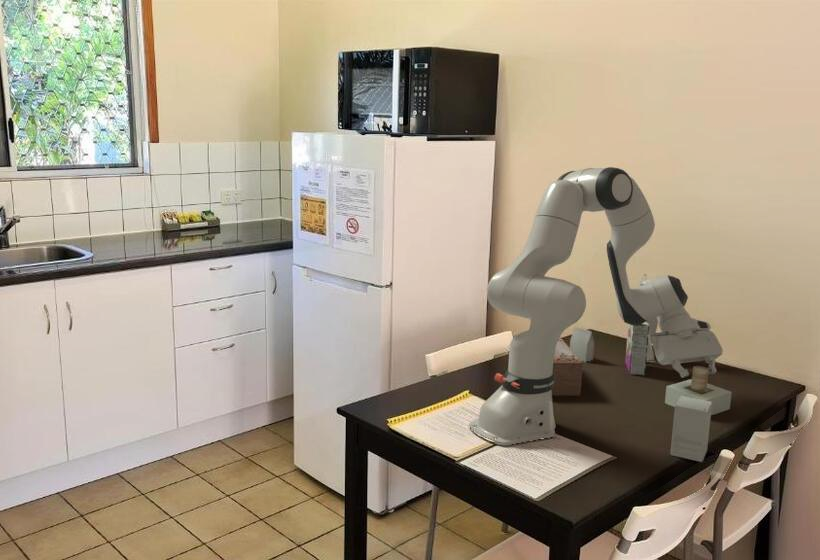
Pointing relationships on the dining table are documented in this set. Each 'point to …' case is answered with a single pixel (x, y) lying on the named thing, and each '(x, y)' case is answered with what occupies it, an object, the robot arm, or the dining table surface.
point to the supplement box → (691, 428)
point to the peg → (699, 379)
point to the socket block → (699, 395)
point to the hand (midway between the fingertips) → (699, 375)
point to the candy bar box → (637, 348)
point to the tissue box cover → (566, 370)
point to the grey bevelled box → (582, 344)
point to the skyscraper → (650, 329)
